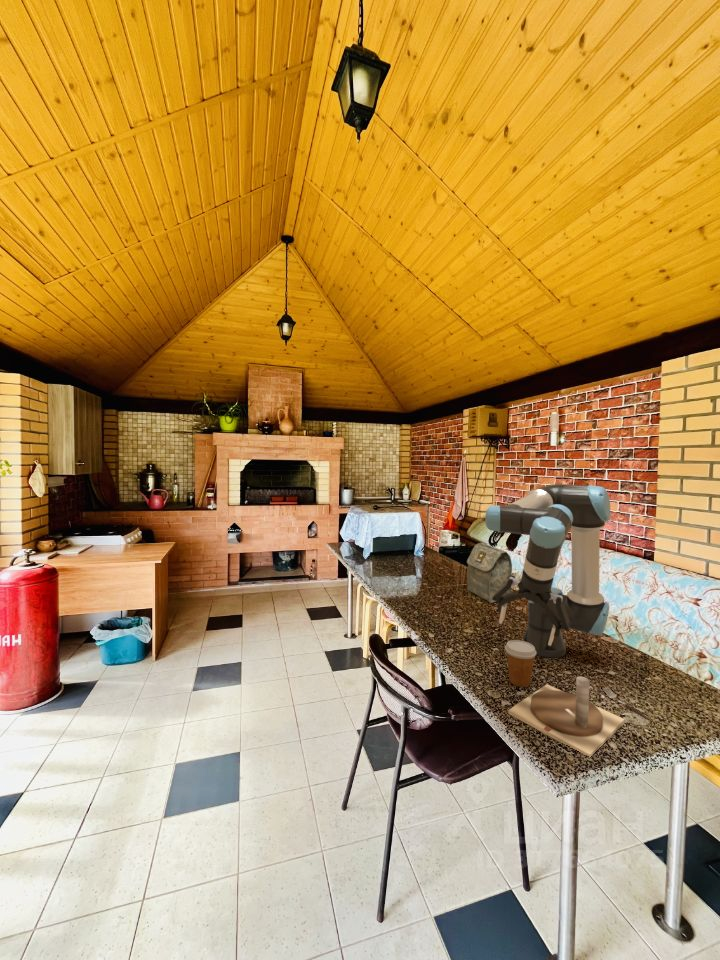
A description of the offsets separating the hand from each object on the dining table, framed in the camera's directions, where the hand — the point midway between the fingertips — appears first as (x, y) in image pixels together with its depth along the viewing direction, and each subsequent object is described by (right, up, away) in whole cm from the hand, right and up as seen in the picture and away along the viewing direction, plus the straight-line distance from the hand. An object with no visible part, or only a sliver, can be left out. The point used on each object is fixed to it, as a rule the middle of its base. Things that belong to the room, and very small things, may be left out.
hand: (525, 631), depth 115 cm
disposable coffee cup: (+5, -23, +17) cm, 29 cm away
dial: (+11, -23, -2) cm, 25 cm away
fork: (+32, -24, +4) cm, 40 cm away
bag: (+21, -19, +100) cm, 104 cm away
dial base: (+11, -24, -1) cm, 26 cm away
